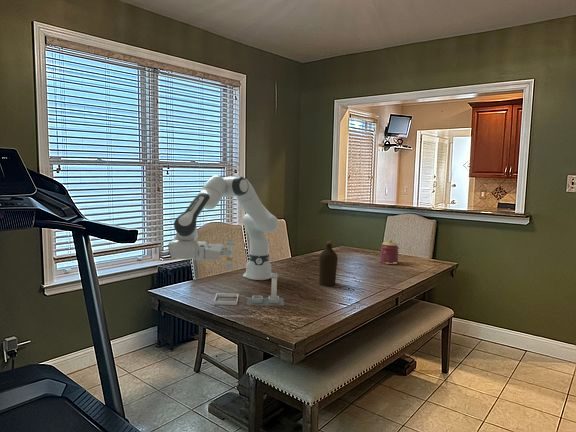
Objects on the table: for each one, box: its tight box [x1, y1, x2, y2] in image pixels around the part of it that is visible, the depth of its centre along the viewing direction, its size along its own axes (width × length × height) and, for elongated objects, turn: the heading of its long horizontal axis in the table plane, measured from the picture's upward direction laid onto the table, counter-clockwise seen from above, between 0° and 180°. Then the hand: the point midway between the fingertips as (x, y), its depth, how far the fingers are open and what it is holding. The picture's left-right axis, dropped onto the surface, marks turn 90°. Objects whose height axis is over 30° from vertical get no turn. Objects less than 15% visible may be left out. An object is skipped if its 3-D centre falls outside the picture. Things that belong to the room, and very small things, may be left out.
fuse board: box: [246, 294, 285, 306], centre depth 216 cm, size 12×18×3 cm, turn 93°
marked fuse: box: [225, 239, 234, 271], centre depth 212 cm, size 3×3×14 cm
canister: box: [379, 238, 400, 263], centre depth 319 cm, size 13×13×18 cm
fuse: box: [270, 272, 278, 299], centre depth 215 cm, size 3×3×14 cm
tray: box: [213, 292, 240, 306], centre depth 215 cm, size 13×11×2 cm
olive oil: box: [318, 240, 338, 287], centre depth 254 cm, size 11×11×25 cm
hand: (231, 251), depth 212 cm, fingers closed on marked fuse, 3 cm apart
